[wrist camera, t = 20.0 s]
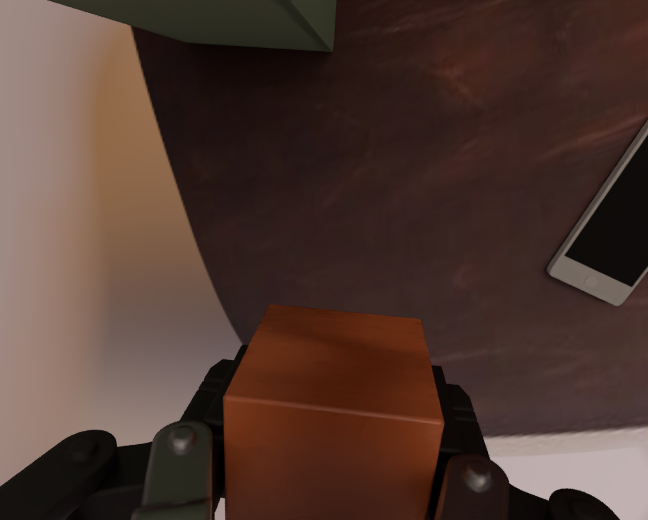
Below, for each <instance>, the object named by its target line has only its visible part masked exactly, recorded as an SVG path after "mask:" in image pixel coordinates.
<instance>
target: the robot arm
mask: <svg viewBox="0 0 648 520" xmlns="http://www.w3.org/2000/svg"><path fill="white" fill-rule="evenodd" d="M248 346H249V345H242V346H241V347H240V349H239V351H238V353H237V355H236V357H235V359H234V360H226V359H222V360H221V361H220V362H218V363H217V364H215V365H214V366H213V367H211V368H210V370H209V371H208V373H207V375H206V376H205V378H204V381H203V382H202V383H201V385H200V387H199V390H198V391H197V392H196V394H195V395H194V397H193V398H192V400H191V402H190V404H189V405H188V407H187V409H186V410H185V412H184V414H183V415H182V417H181V419H180V421H177V422H174V423H171V424H169V425H167V426H165V427H164V428H162V429H161V430H160V431H159V432H158V433H157V434H156V435H155V437H154V439H153V441H152V442H148V443H143V444H137V445H129V446H121V447H117V443H116V439H115V437H114V436H113V435H112V434H111V433H109V432H107V431H103V430H87V431H82V432H79V433H76V434H74V435H71V436H69V437H67V438H66V439H64V440H62V441H61V442H60V443H58V444H57V445H56V446H54V447H53V448H52V449H50V450H49V451H47V452H46V453H45V454H44V455H42V456H41V457H39V458H38V459H37V460H35V461H34V462H33V463H32V464H30V465H29V466H27V467H26V468H25V469H23V470H22V471H21V472H19V473H18V474H16V475H15V476H14V477H12V478H11V479H10V480H8V481H7V482H6V483H4V484H3V485H2V486H0V520H215V511H216V509H217V506H218V503H219V501H220V498H225V475H224V415H223V397H224V395H225V393H226V391H227V389H228V387H229V385H230V383H231V381H232V379H233V377H234V375H235V373H236V371H237V369H238V367H239V365H240V363H241V361H242V359H243V356H244V354H245V352H246V350H247V348H248ZM431 366H432V371H433V375H434V380H435V384H436V388H437V393H438V397H439V401H440V406H441V410H442V415H443V419H444V428H443V434H442V439H441V444H440V449H439V455H438V460H437V465H436V471H435V476H434V481H433V486H432V492H431V497H430V502H429V508H428V513H427V518H426V520H620V519H619V518H618V517H617V516H616V515H615V514H614V512H613V511H612V510H611V509H610V508H609V507H608V506H606V505H605V504H604V503H603V502H601V501H600V500H598V499H597V498H595V497H593V496H592V495H590V494H587V493H585V492H582V491H579V490H575V489H568V488H566V489H559V490H556V491H554V492H553V493H552V494H551V496H550V498H549V501H548V500H546V499H543V498H540V497H538V496H535V495H532V494H529V493H527V492H524V491H522V490H520V489H518V488H516V487H514V486H513V485H511V484H510V483H509V480H508V478H507V476H506V474H505V473H504V471H503V470H502V469H501V468H500V467H499V466H498V465H497V464H496V463H494V462H493V461H491V460H490V457H489V454H488V451H487V448H486V445H485V442H484V439H483V436H482V433H481V430H480V427H479V424H478V423H477V418H476V415H475V412H474V409H473V406H472V403H471V400H470V397H469V396H468V395H467V394H466V393H465V392H464V390H463V389H462V388H461V387H460V386H459V385H453V384H446V381H445V377H444V374H443V370H442V367H441V366H434V365H431Z"/></svg>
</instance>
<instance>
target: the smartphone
mask: <svg viewBox="0 0 648 520" xmlns="http://www.w3.org/2000/svg"><path fill="white" fill-rule="evenodd" d="M647 271H648V120H647V121H646V123H645V124H644V126H643V127H642V129H641V130H640V132H639V133H638V135H637V136H636V138H635V139H634V141H633V142H632V143H631V145H630V146H629V148H628V149H627V151H626V152H625V154H624V155H623V157H622V158H621V160H620V161H619V162H618V164H617V165H616V167H615V168H614V170H613V171H612V173H611V174H610V176H609V177H608V179H607V180H606V182H605V183H604V184H603V186H602V187H601V189H600V190H599V192H598V193H597V195H596V196H595V198H594V199H593V201H592V202H591V203H590V205H589V206H588V208H587V209H586V211H585V212H584V214H583V215H582V217H581V218H580V220H579V221H578V223H577V224H576V225H575V227H574V228H573V230H572V231H571V233H570V234H569V236H568V237H567V239H566V240H565V242H564V243H563V244H562V246H561V247H560V249H559V250H558V252H557V253H556V255H555V256H554V258H553V259H552V261H551V262H550V264H549V265H548V267H547V272H548V273H549V274H550V275H551V276H553V277H555V278H557V279H559V280H561V281H563V282H565V283H568V284H570V285H572V286H574V287H576V288H578V289H581V290H583V291H585V292H587V293H589V294H591V295H593V296H596V297H598V298H600V299H602V300H604V301H606V302H608V303H611V304H613V305H615V306H619V305H621V304H622V303H623V302H624V301H625V300H626V298H627V297H628V296H629V295H630V293H631V292H632V291H633V289H634V288H635V287H636V286H637V284H638V283H639V282H640V280H641V279H642V278H643V277H644V275H645V274H646V273H647Z"/></svg>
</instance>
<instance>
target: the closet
mask: <svg viewBox="0 0 648 520" xmlns="http://www.w3.org/2000/svg"><path fill="white" fill-rule="evenodd" d="M49 1H52V2H55V3H59V4H62V5H65V6H69V7H72V8H75V9H79V10H82V11H85V12H88V13H91V14H95V15H98V16H101V17H105V18H108V19H111V20H115V21H118V22H121V23H124V24H127V25H131V26H134V27H137V28H141V29H144V30H147V31H150V32H154V33H157V34H160V35H164V36H167V37H170V38H173V39H177V40H180V41H183V42H187V43H202V44H217V45H233V46H248V47H264V48H280V49H295V50H311V51H326V52H333V45H334V30H335V15H336V0H49Z"/></svg>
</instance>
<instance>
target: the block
mask: <svg viewBox="0 0 648 520" xmlns="http://www.w3.org/2000/svg"><path fill="white" fill-rule="evenodd" d="M223 415H224V475H225V520H426V518H427V513H428V508H429V502H430V497H431V492H432V486H433V481H434V476H435V471H436V465H437V460H438V455H439V449H440V444H441V439H442V434H443V428H444V419H443V415H442V410H441V406H440V401H439V397H438V393H437V388H436V384H435V380H434V375H433V371H432V366H431V362H430V358H429V353H428V349H427V344H426V340H425V336H424V331H423V327H422V322H421V320H420V319H414V318H404V317H394V316H384V315H374V314H364V313H354V312H344V311H334V310H324V309H314V308H304V307H294V306H284V305H274V304H270V305H269V306H268V308H267V310H266V312H265V314H264V316H263V318H262V320H261V322H260V324H259V326H258V328H257V330H256V332H255V334H254V336H253V338H252V340H251V342H250V344H249V346H248V348H247V350H246V352H245V354H244V356H243V359H242V361H241V363H240V365H239V367H238V369H237V371H236V373H235V375H234V377H233V379H232V381H231V383H230V385H229V387H228V389H227V391H226V393H225V395H224V397H223Z"/></svg>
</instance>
